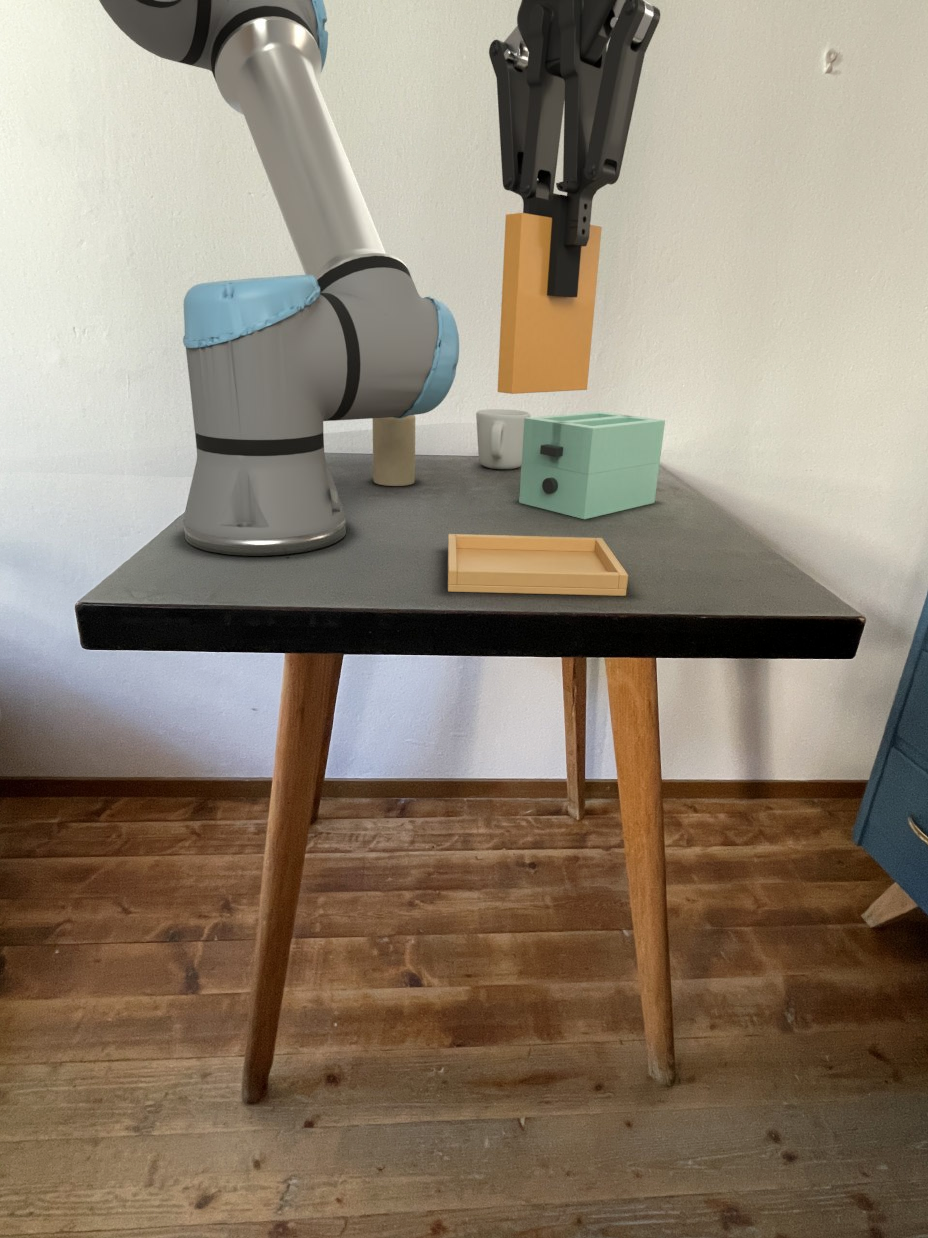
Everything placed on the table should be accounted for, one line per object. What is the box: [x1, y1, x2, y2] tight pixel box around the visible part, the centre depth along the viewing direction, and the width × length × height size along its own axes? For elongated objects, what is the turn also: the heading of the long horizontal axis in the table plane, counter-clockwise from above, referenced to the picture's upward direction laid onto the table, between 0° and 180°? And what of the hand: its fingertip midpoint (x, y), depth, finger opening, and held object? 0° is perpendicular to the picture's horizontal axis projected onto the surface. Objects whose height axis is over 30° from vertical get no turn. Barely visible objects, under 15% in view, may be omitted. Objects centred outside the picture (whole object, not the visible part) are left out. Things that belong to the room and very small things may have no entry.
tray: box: [447, 533, 629, 597], centre depth 64 cm, size 14×11×2 cm
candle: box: [372, 415, 416, 487], centre depth 96 cm, size 6×6×10 cm
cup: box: [475, 408, 532, 470], centre depth 108 cm, size 11×8×8 cm
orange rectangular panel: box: [497, 212, 603, 395], centre depth 56 cm, size 2×9×12 cm, turn 133°
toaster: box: [518, 411, 666, 520], centre depth 88 cm, size 10×15×10 cm, turn 133°
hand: (550, 295), depth 56 cm, fingers closed on orange rectangular panel, 1 cm apart
